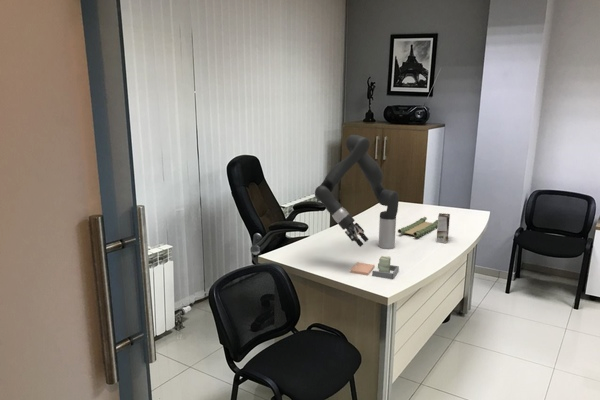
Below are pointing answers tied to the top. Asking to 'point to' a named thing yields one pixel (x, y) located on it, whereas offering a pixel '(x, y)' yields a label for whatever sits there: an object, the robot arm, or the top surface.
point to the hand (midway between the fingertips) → (364, 243)
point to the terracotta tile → (362, 268)
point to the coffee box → (443, 228)
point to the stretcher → (419, 227)
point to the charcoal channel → (387, 275)
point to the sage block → (384, 264)
